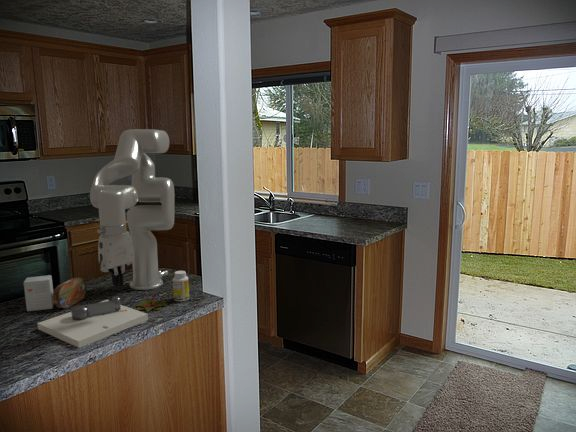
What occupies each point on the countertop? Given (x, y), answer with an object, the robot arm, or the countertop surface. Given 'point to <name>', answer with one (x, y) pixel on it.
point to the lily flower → (151, 302)
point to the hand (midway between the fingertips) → (118, 285)
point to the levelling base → (91, 325)
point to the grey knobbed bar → (95, 308)
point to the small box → (39, 293)
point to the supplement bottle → (180, 286)
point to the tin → (69, 292)
